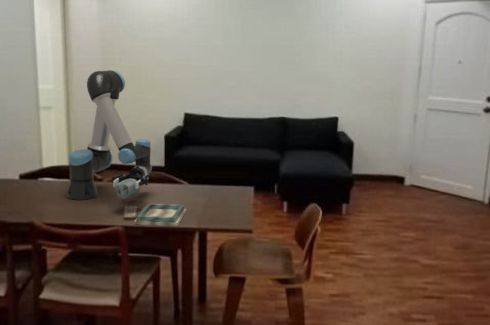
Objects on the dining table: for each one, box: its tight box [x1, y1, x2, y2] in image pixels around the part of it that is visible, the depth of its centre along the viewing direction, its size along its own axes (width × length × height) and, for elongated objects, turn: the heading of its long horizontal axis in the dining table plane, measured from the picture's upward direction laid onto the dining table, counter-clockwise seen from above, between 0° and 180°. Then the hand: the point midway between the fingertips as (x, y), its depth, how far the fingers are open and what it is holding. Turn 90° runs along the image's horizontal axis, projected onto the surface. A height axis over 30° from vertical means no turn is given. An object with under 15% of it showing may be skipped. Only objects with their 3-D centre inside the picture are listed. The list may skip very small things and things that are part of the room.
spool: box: [114, 179, 141, 200], centre depth 256 cm, size 14×10×10 cm
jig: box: [133, 203, 187, 227], centre depth 248 cm, size 19×22×4 cm
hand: (125, 185), depth 251 cm, fingers closed on spool, 10 cm apart
